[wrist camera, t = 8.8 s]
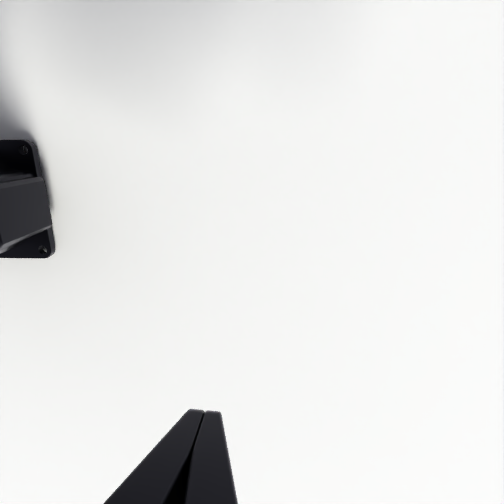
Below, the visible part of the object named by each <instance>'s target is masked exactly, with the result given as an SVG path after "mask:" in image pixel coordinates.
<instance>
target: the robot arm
mask: <svg viewBox="0 0 504 504" xmlns="http://www.w3.org/2000/svg"><path fill="white" fill-rule="evenodd" d="M24 146H26V147H27V149H28V153H27V154H26V153H25V152H24V150H23V147H24ZM51 225H52V220H51V214H50V209H49V203H48V198H47V192H46V187H45V182H44V180H43V179H42V174H41V168H40V163H39V157H38V152H37V148H36V146H35V144H34V143H33V142H31V141H29V140H0V258H48V257H50V256H51V255H53V254H54V252H55V244H54V239H53V233H52V228H51ZM43 246H44V247H46V249H47V252H45V251H44V250H43ZM104 504H238V502H237V497H236V491H235V486H234V480H233V475H232V470H231V464H230V459H229V453H228V448H227V442H226V437H225V432H224V426H223V421H222V415H221V413H220V412H218V411H206V412H204V411H203V410H197V409H189V410H188V411H187V412H186V413H185V414H184V415H183V416H182V417H181V419H180V420H179V421H178V422H177V423H176V424H175V425H174V426H173V427H172V428H171V430H170V431H169V432H168V433H167V434H166V435H165V436H164V437H163V438H162V440H161V441H160V442H159V443H158V444H157V445H156V446H155V447H154V448H153V450H152V451H151V452H150V453H149V454H148V455H147V456H146V457H145V458H144V459H143V461H142V462H141V463H140V464H139V465H138V466H137V467H136V468H135V469H134V471H133V472H132V473H131V474H130V475H129V476H128V477H127V478H126V479H125V480H124V482H123V483H122V484H121V485H120V486H119V487H118V488H117V489H116V490H115V492H114V493H113V494H112V495H111V496H110V497H109V498H108V499H107V500H106V501H105V503H104Z"/></svg>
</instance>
